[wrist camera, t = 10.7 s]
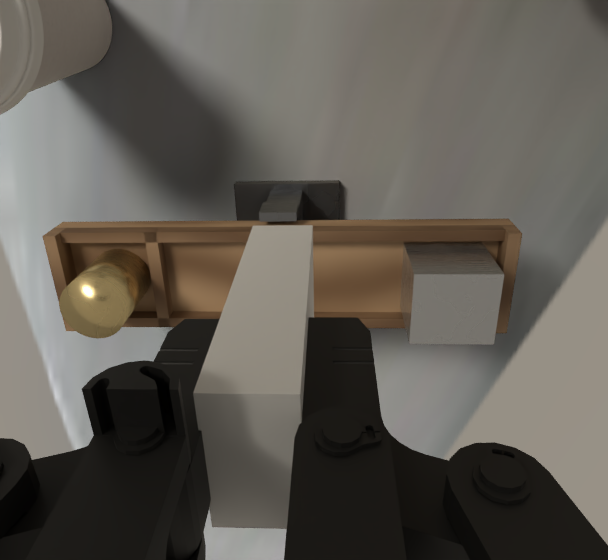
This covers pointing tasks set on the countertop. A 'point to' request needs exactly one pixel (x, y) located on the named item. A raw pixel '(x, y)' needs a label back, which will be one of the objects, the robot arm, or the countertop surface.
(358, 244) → the wooden tray
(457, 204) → the countertop surface
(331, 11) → the countertop surface
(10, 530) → the robot arm
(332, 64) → the countertop surface
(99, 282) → the cylinder
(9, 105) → the coffee cup
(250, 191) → the fulcrum
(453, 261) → the block
